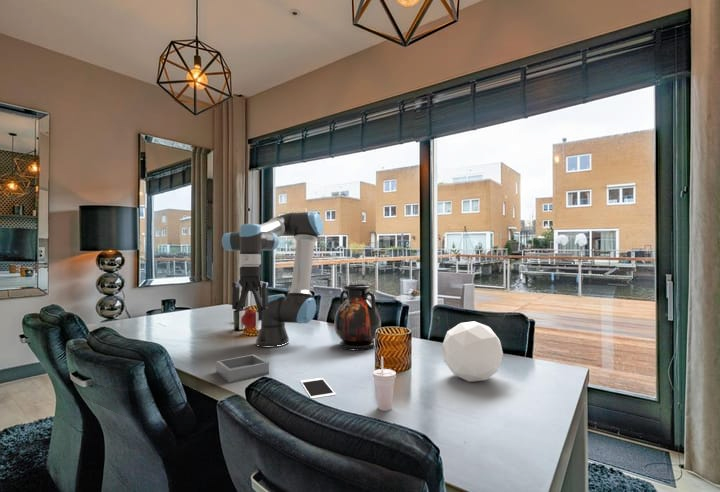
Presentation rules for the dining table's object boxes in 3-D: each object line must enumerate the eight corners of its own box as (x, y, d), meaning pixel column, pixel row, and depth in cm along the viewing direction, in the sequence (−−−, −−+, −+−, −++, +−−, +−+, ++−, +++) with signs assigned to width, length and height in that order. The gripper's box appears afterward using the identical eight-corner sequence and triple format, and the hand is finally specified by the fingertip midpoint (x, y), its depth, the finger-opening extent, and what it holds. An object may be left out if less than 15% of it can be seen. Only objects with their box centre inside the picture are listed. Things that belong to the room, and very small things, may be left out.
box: (253, 364, 141) (253, 354, 141) (268, 373, 130) (268, 362, 130) (216, 372, 132) (216, 361, 132) (229, 382, 121) (229, 370, 121)
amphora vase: (324, 348, 164) (323, 286, 164) (352, 338, 181) (351, 282, 182) (363, 355, 151) (363, 288, 152) (389, 344, 169) (389, 284, 170)
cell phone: (322, 379, 124) (322, 377, 124) (336, 396, 109) (336, 394, 109) (299, 382, 122) (299, 380, 122) (311, 400, 107) (310, 398, 107)
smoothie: (372, 403, 103) (371, 353, 103) (394, 402, 103) (393, 353, 104) (374, 413, 96) (374, 360, 97) (398, 412, 97) (397, 359, 97)
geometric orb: (476, 405, 116) (464, 366, 107) (438, 367, 133) (424, 330, 123) (519, 371, 121) (512, 330, 111) (477, 338, 138) (467, 300, 128)
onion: (259, 327, 136) (259, 306, 137) (257, 330, 131) (257, 308, 131) (243, 328, 135) (243, 307, 136) (240, 331, 130) (240, 309, 130)
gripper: (221, 266, 132) (221, 330, 131) (269, 266, 128) (269, 332, 127) (232, 265, 139) (232, 326, 138) (278, 265, 136) (278, 327, 135)
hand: (250, 329), depth 133 cm, fingers closed on onion, 6 cm apart
